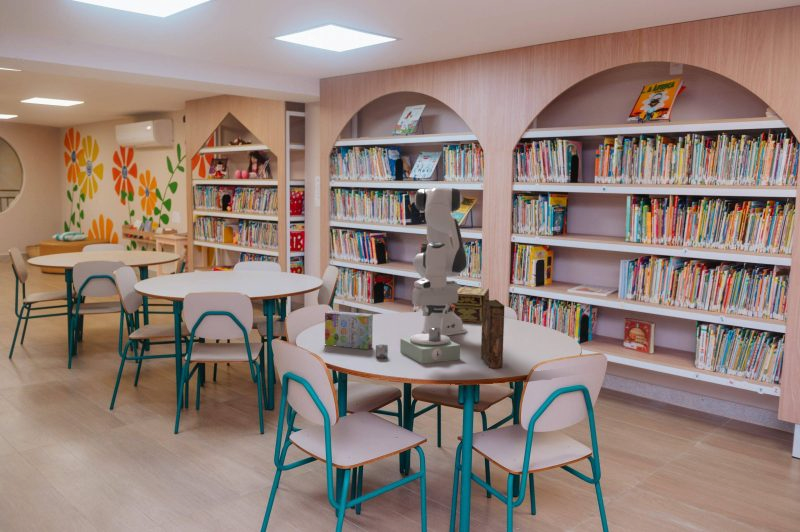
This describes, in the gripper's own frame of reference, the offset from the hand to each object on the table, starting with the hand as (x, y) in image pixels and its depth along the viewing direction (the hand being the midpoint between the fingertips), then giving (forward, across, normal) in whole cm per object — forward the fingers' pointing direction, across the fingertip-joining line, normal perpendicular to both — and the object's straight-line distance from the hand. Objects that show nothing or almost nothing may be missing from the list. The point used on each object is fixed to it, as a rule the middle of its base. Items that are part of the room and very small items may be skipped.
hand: (435, 314), depth 266 cm
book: (+18, -18, +16) cm, 30 cm away
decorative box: (+20, -59, -67) cm, 91 cm away
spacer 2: (+11, 0, 0) cm, 11 cm away
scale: (+18, 0, -4) cm, 19 cm away
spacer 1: (+18, +20, -9) cm, 29 cm away
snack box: (+18, +26, -32) cm, 45 cm away
